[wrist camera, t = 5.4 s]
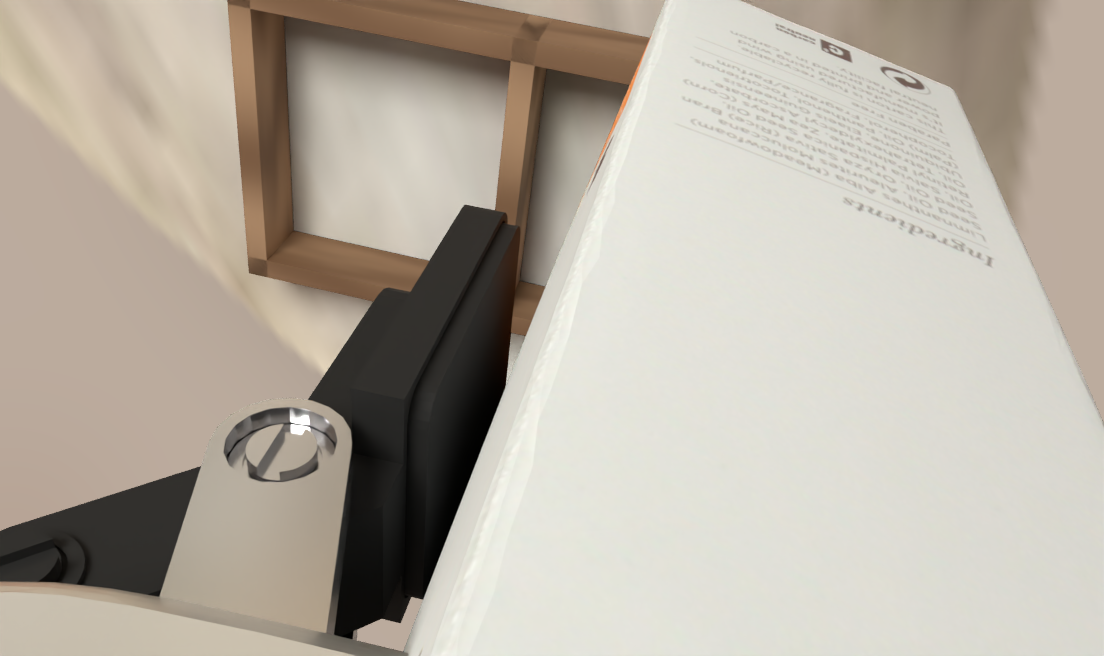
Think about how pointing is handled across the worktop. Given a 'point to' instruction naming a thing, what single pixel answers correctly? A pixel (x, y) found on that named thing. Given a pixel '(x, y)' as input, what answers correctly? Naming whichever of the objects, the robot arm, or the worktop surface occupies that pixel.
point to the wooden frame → (420, 16)
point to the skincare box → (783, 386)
